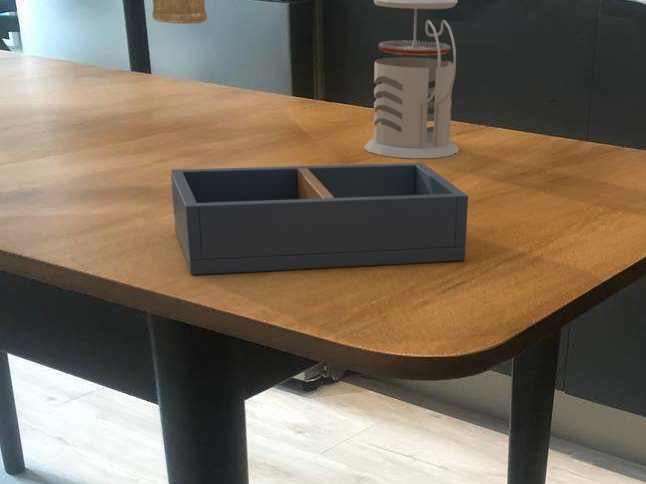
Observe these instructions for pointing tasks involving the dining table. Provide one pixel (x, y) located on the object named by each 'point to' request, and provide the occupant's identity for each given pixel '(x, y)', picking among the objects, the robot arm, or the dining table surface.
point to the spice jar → (179, 11)
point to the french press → (414, 92)
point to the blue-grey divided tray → (316, 217)
